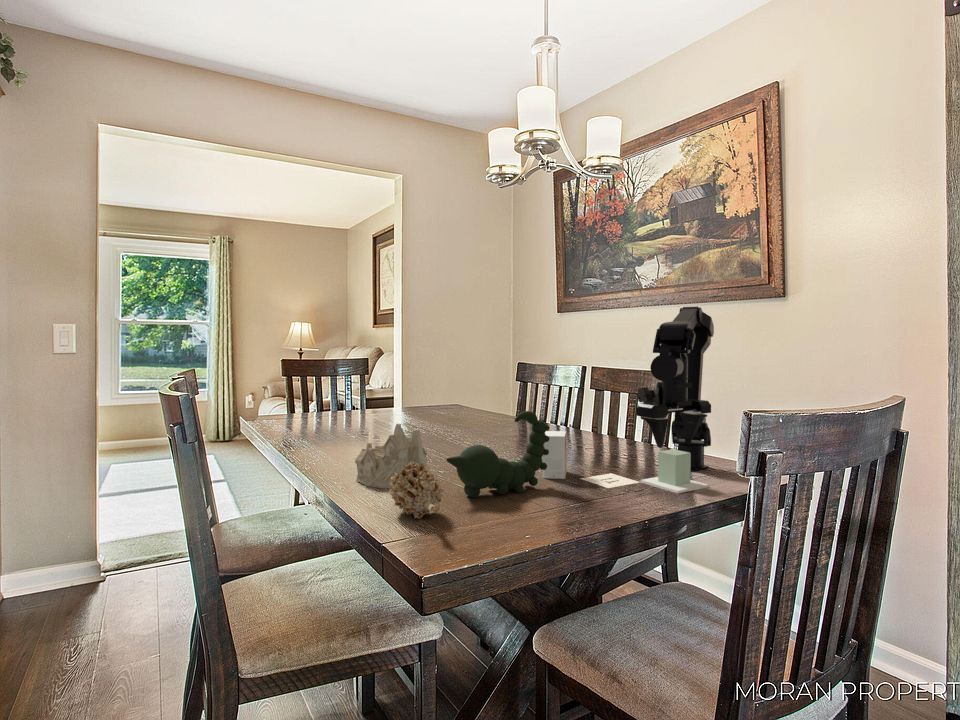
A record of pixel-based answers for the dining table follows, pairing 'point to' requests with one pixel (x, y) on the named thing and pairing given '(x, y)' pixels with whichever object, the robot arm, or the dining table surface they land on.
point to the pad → (676, 489)
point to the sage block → (674, 467)
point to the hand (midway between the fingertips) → (673, 445)
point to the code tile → (609, 480)
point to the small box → (555, 455)
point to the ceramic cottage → (389, 458)
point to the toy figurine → (503, 463)
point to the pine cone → (416, 490)
